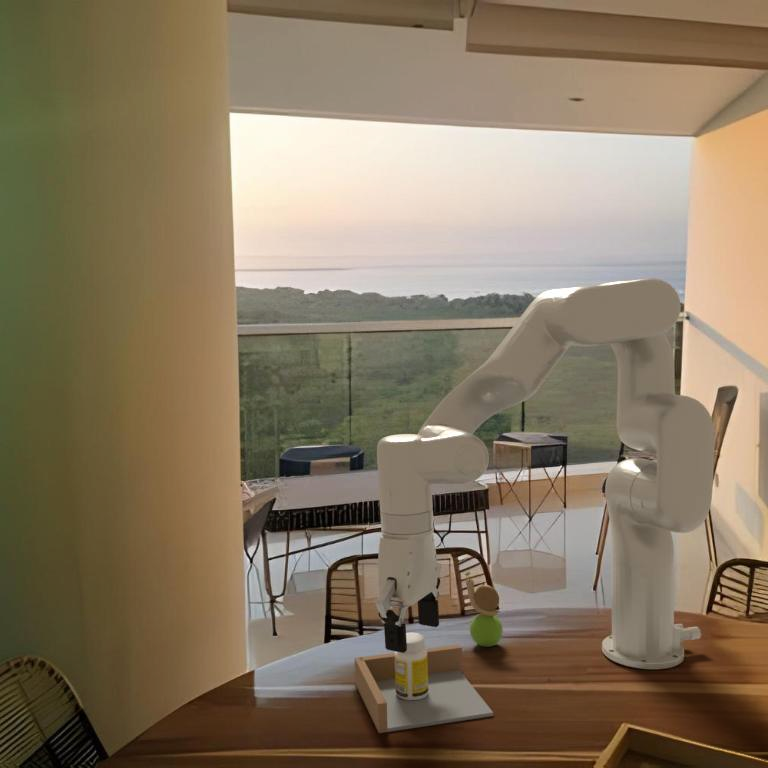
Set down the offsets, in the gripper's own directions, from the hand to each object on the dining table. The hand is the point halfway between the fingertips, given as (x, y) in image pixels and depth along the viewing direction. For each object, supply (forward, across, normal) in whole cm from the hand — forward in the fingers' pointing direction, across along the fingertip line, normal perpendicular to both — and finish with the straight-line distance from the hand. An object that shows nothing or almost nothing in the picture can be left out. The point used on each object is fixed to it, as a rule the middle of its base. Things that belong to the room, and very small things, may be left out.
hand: (413, 637), depth 114 cm
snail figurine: (+10, -22, +1) cm, 24 cm away
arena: (+9, +1, +2) cm, 9 cm away
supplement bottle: (+8, +1, 0) cm, 9 cm away
